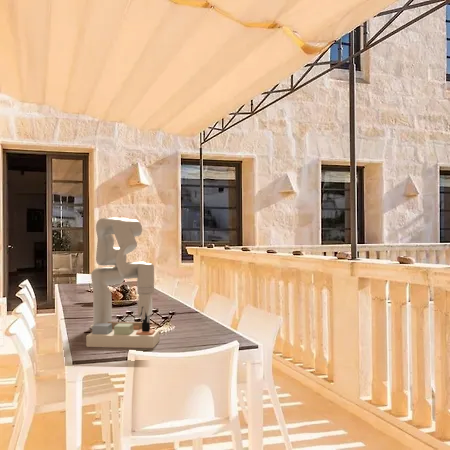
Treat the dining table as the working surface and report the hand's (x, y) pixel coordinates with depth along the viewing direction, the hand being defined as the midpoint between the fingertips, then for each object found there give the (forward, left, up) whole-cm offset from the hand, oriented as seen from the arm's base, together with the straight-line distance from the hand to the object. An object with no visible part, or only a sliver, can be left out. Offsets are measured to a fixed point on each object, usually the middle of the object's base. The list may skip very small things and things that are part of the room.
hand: (145, 330), depth 230 cm
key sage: (0, -10, -1) cm, 10 cm away
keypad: (-2, -10, -6) cm, 12 cm away
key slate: (0, -20, -1) cm, 20 cm away
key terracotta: (0, 0, -4) cm, 4 cm away
